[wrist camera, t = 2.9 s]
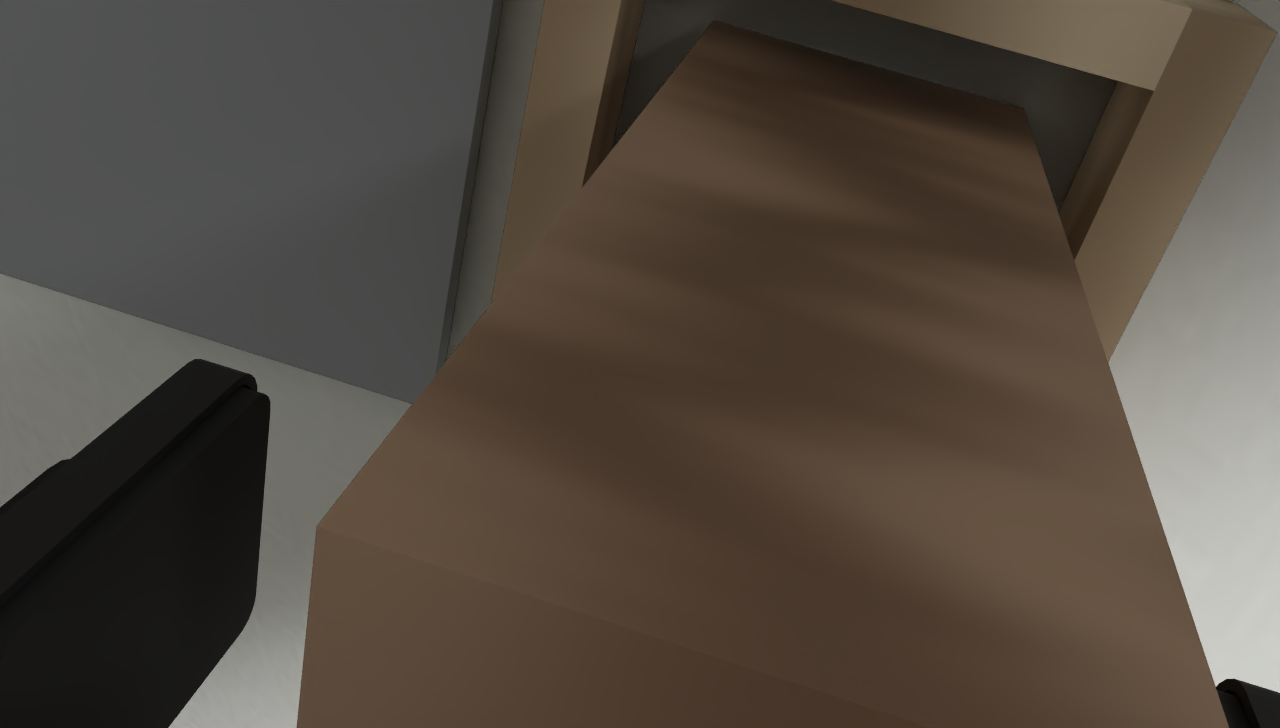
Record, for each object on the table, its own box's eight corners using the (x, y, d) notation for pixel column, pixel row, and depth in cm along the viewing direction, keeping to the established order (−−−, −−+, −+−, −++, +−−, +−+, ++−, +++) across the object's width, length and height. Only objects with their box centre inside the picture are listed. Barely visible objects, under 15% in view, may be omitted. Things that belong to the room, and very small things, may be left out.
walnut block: (1023, 108, 19) (1264, 838, 6) (912, 377, 22) (914, 1276, 9) (713, 20, 19) (316, 525, 6) (643, 295, 22) (265, 1038, 9)
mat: (526, -144, 19) (515, -141, 18) (440, 395, 24) (429, 409, 24) (-68, -308, 20) (-95, -310, 19) (-21, 250, 25) (-40, 260, 25)
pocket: (1237, 3, 18) (1277, 32, 16) (988, 513, 23) (995, 582, 21) (608, -168, 18) (573, -161, 16) (506, 363, 24) (470, 415, 22)
